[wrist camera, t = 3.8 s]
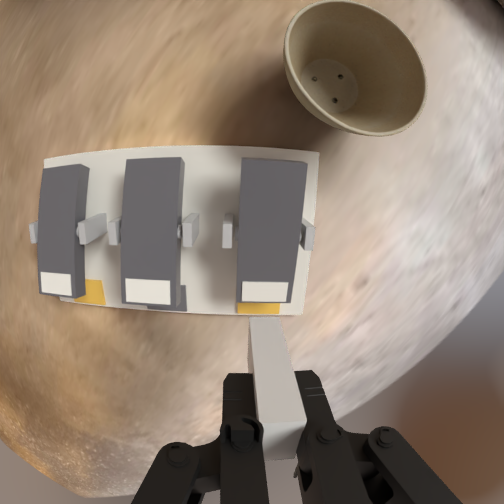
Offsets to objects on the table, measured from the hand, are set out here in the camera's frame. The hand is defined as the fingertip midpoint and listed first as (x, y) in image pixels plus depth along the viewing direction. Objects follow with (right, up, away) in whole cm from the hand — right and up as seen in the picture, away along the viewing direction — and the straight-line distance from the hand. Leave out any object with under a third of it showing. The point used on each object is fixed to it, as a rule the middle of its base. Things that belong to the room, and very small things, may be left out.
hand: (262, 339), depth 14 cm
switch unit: (-8, +6, +8) cm, 13 cm away
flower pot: (+6, +18, +6) cm, 20 cm away
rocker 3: (+1, +6, +5) cm, 7 cm away
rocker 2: (-7, +6, +4) cm, 10 cm away
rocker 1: (-15, +6, +4) cm, 17 cm away
